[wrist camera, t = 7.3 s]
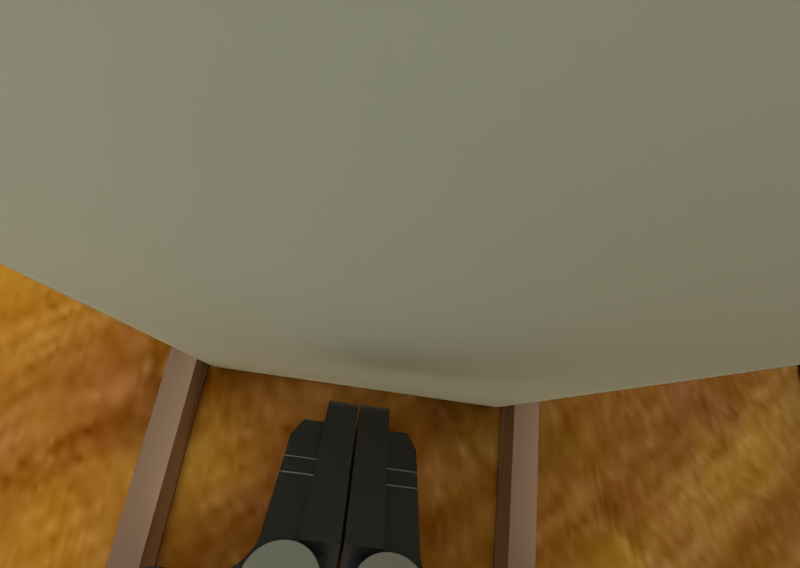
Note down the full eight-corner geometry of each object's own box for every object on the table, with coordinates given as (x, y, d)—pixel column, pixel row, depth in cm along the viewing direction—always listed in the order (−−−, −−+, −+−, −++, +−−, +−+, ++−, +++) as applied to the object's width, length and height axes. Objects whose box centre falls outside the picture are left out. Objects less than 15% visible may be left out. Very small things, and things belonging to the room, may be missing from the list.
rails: (532, 177, 23) (550, 154, 21) (514, 685, 16) (538, 720, 14) (251, 125, 21) (242, 96, 20) (100, 646, 15) (65, 678, 13)
